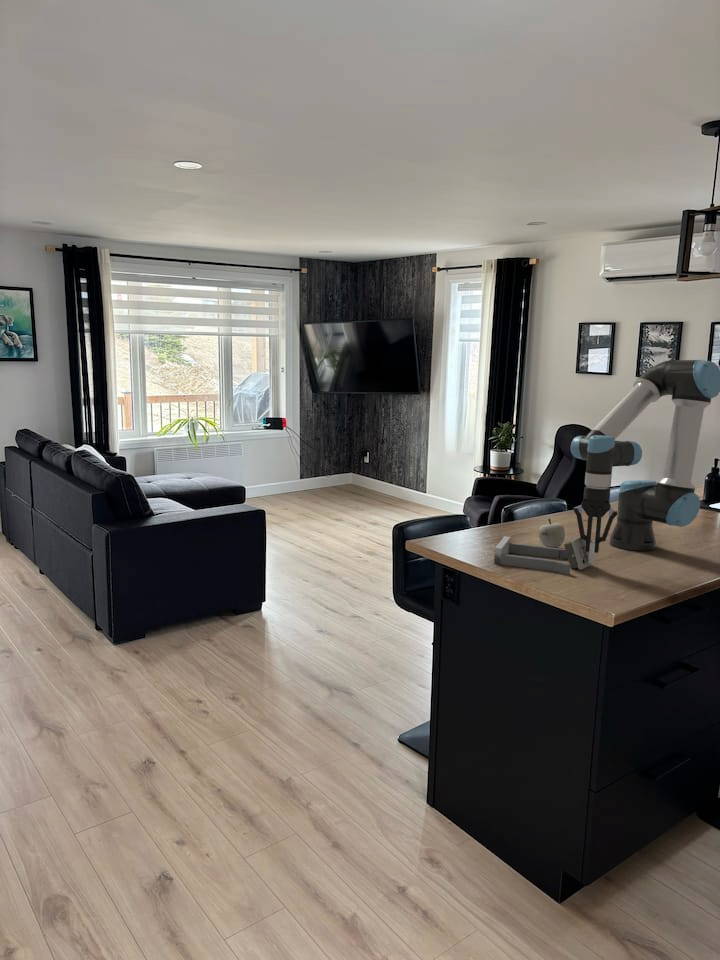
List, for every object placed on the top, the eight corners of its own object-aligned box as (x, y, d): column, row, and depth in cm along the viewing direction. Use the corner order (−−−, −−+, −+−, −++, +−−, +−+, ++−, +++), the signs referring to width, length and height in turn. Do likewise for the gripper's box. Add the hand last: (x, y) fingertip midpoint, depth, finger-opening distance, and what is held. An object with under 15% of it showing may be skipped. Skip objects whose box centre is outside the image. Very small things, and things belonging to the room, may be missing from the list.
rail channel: (575, 557, 229) (576, 542, 228) (569, 575, 210) (570, 558, 209) (504, 549, 237) (505, 534, 237) (492, 565, 218) (493, 549, 217)
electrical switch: (581, 570, 214) (578, 540, 213) (565, 570, 217) (562, 540, 217) (593, 564, 221) (590, 535, 221) (577, 564, 224) (574, 535, 224)
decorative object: (562, 552, 236) (565, 523, 234) (536, 549, 238) (538, 520, 237) (564, 546, 244) (567, 518, 242) (538, 543, 247) (541, 515, 245)
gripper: (620, 486, 215) (613, 561, 218) (576, 483, 219) (570, 556, 223) (620, 490, 208) (613, 568, 211) (574, 486, 212) (568, 562, 216)
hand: (591, 562), depth 217 cm, fingers closed
